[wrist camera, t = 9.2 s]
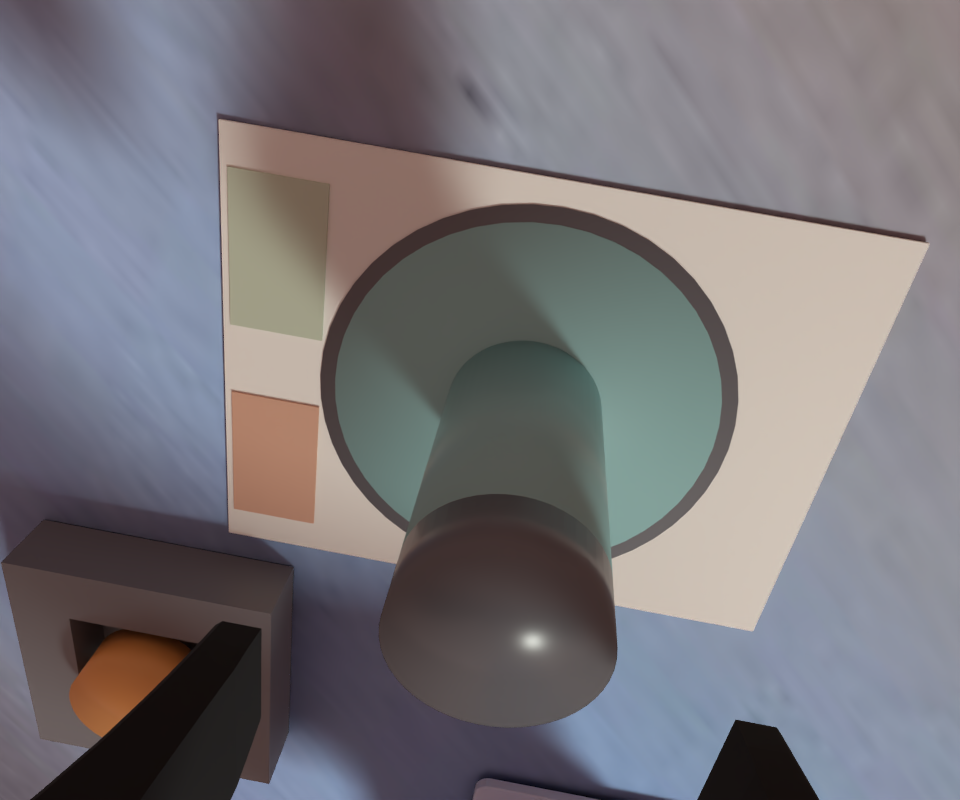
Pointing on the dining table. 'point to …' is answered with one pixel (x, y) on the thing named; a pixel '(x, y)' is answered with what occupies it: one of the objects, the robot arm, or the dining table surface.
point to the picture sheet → (546, 319)
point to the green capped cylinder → (508, 547)
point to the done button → (122, 676)
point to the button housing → (141, 617)
